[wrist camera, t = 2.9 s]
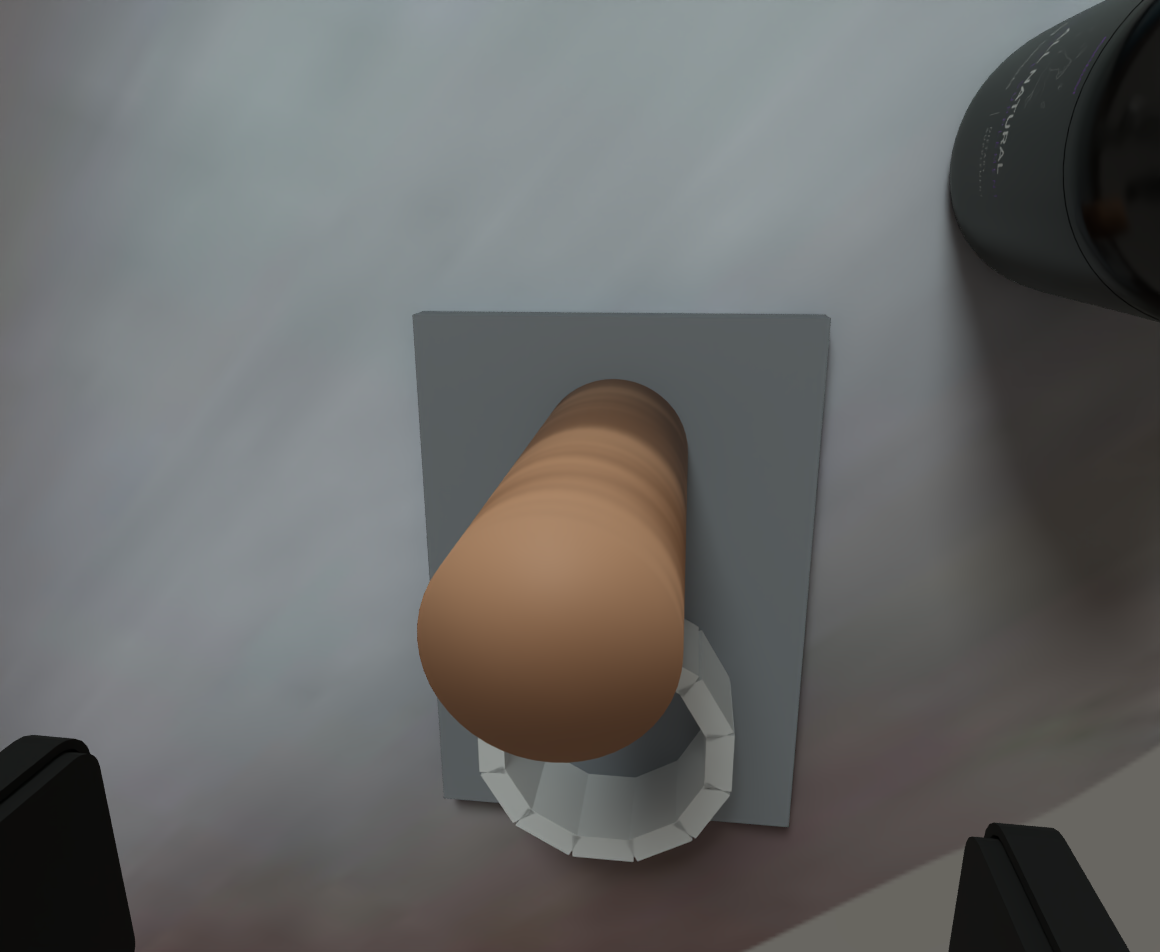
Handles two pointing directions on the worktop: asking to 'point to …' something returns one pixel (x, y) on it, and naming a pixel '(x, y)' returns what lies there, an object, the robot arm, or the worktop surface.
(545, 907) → the worktop surface
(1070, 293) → the supplement bottle
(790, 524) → the bracket board
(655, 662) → the rail post
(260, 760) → the worktop surface
